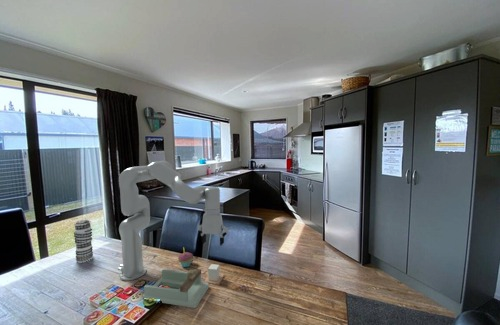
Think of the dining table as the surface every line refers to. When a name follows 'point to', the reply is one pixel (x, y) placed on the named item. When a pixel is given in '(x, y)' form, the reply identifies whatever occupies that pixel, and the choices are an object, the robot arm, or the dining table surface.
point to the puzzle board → (176, 289)
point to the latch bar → (190, 279)
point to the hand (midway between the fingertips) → (212, 243)
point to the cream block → (213, 272)
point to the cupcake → (185, 258)
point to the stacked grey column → (83, 241)
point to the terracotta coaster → (215, 281)
